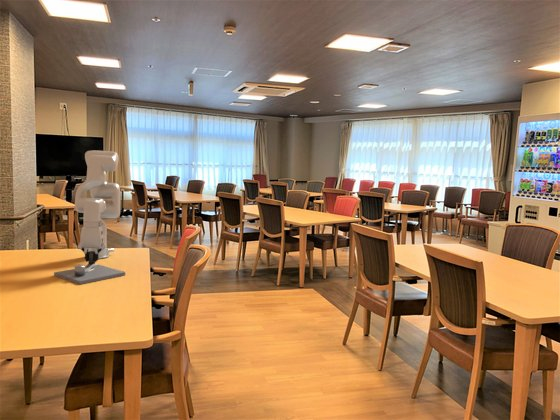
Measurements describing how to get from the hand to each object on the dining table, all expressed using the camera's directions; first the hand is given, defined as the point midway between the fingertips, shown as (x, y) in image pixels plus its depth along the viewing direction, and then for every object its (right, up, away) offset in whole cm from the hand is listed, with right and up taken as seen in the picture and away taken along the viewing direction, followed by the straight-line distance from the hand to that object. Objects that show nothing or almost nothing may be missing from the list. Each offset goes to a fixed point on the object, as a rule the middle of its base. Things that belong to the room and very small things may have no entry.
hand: (91, 260), depth 215 cm
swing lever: (+1, -4, -8) cm, 9 cm away
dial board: (+3, -6, -9) cm, 11 cm away
